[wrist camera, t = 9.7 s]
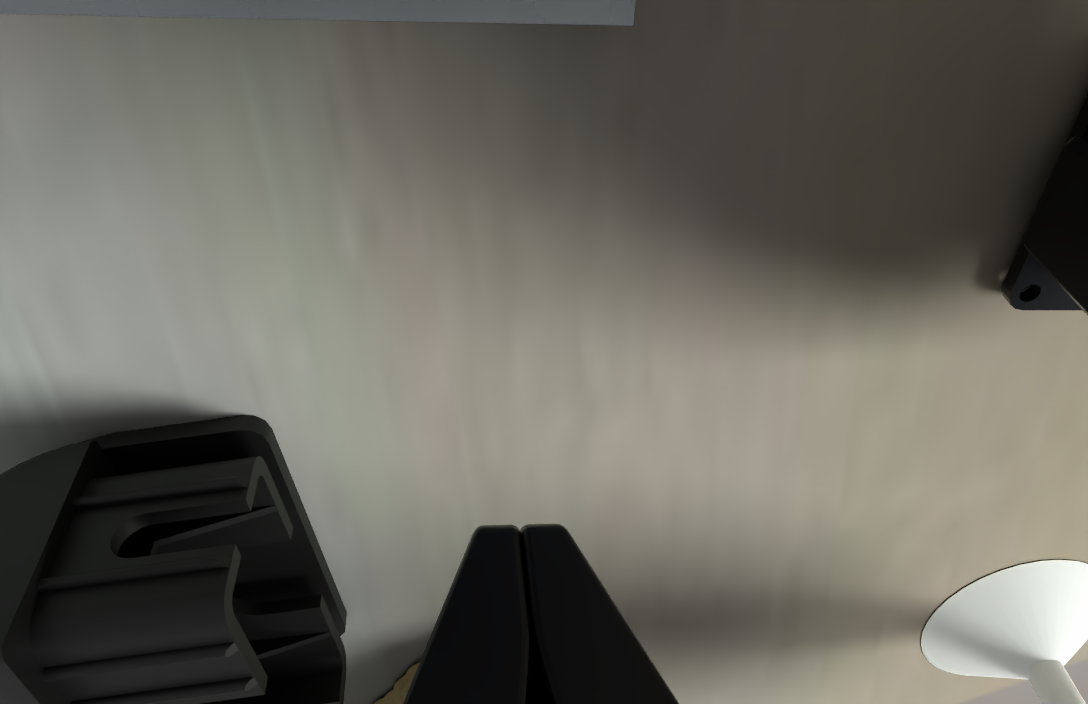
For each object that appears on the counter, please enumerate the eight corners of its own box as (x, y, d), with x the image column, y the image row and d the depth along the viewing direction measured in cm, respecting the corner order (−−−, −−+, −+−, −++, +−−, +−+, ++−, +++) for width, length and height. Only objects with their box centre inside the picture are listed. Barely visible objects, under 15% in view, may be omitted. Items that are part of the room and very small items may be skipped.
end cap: (-20, 433, 23) (-160, 675, 18) (260, 395, 23) (204, 626, 18) (134, 658, 29) (65, 886, 24) (354, 628, 29) (334, 850, 24)
